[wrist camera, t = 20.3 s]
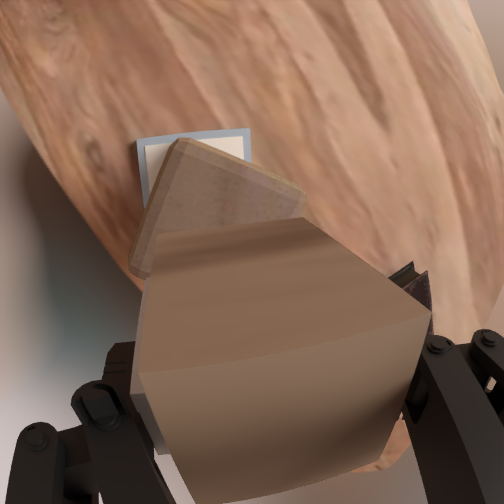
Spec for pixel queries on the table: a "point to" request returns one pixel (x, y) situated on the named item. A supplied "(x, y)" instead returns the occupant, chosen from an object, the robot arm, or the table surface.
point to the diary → (415, 287)
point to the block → (209, 197)
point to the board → (157, 147)
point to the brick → (273, 357)
